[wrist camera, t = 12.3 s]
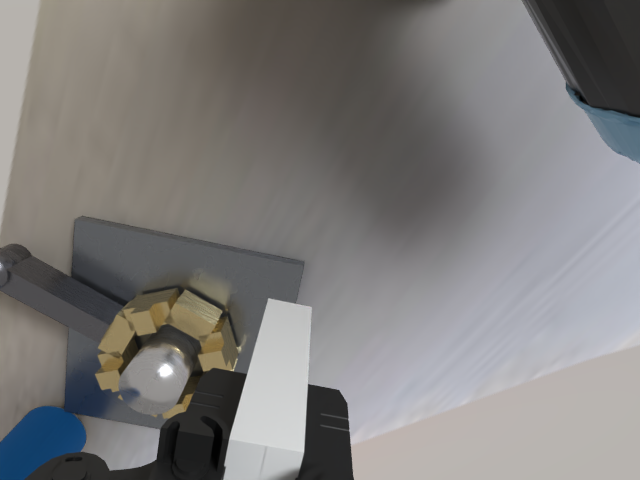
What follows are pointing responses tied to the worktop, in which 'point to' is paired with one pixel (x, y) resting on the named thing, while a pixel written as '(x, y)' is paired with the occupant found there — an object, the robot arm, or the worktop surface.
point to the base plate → (160, 272)
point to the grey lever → (118, 318)
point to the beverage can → (39, 441)
